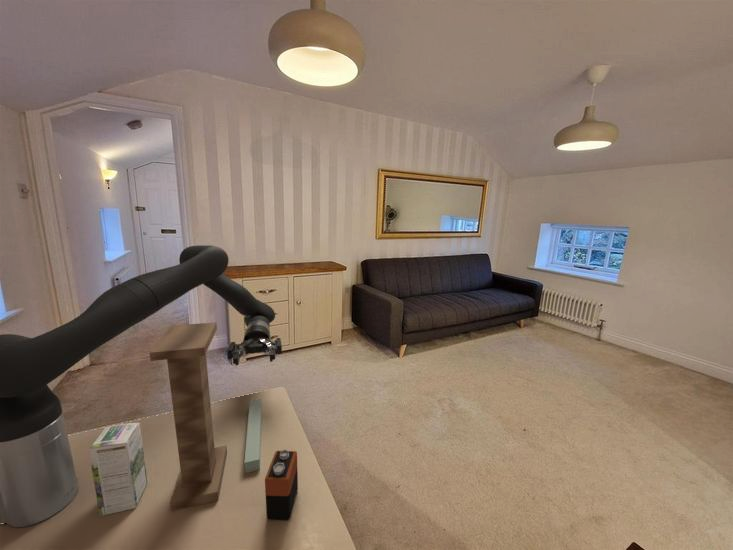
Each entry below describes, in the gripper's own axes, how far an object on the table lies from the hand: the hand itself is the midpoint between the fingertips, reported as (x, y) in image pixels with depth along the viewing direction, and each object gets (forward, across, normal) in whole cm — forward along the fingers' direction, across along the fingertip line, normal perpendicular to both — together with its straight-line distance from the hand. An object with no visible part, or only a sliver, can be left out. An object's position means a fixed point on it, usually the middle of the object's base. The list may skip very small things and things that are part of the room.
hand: (254, 360), depth 79 cm
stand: (+18, -10, +16) cm, 26 cm away
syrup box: (+19, -23, +17) cm, 34 cm away
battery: (+28, +6, +17) cm, 33 cm away
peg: (+8, 0, +17) cm, 18 cm away
